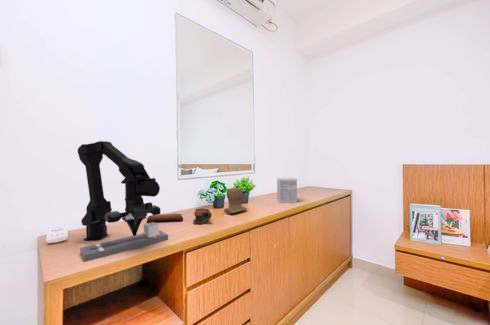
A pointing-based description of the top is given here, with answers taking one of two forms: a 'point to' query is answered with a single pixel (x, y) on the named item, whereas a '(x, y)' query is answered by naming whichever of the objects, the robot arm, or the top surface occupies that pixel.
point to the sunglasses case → (164, 217)
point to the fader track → (119, 245)
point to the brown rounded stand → (234, 200)
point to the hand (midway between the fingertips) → (134, 235)
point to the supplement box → (287, 190)
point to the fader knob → (151, 229)
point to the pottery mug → (202, 216)
